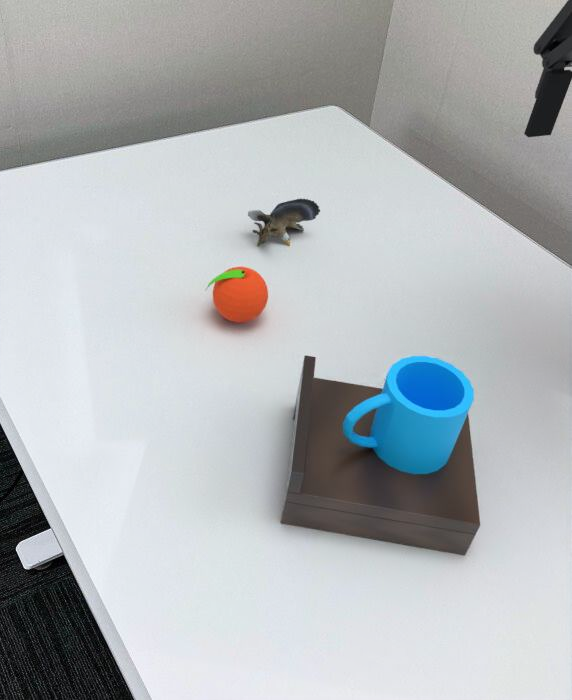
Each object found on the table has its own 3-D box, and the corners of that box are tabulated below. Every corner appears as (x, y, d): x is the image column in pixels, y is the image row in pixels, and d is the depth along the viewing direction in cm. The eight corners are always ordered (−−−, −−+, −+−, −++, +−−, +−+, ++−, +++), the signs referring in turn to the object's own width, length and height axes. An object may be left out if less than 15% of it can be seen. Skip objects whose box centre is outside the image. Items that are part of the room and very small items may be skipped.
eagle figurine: (288, 258, 107) (329, 224, 110) (266, 212, 104) (309, 179, 108) (254, 259, 113) (294, 227, 117) (233, 216, 110) (275, 185, 114)
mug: (429, 407, 82) (450, 351, 76) (464, 468, 76) (489, 411, 71) (322, 422, 79) (336, 365, 74) (350, 485, 73) (367, 428, 68)
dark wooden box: (454, 432, 86) (475, 382, 81) (465, 555, 75) (490, 505, 69) (294, 406, 88) (304, 354, 82) (280, 523, 76) (291, 472, 70)
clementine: (208, 337, 95) (212, 291, 90) (197, 301, 100) (200, 256, 95) (271, 331, 97) (277, 286, 92) (257, 296, 102) (263, 252, 97)
